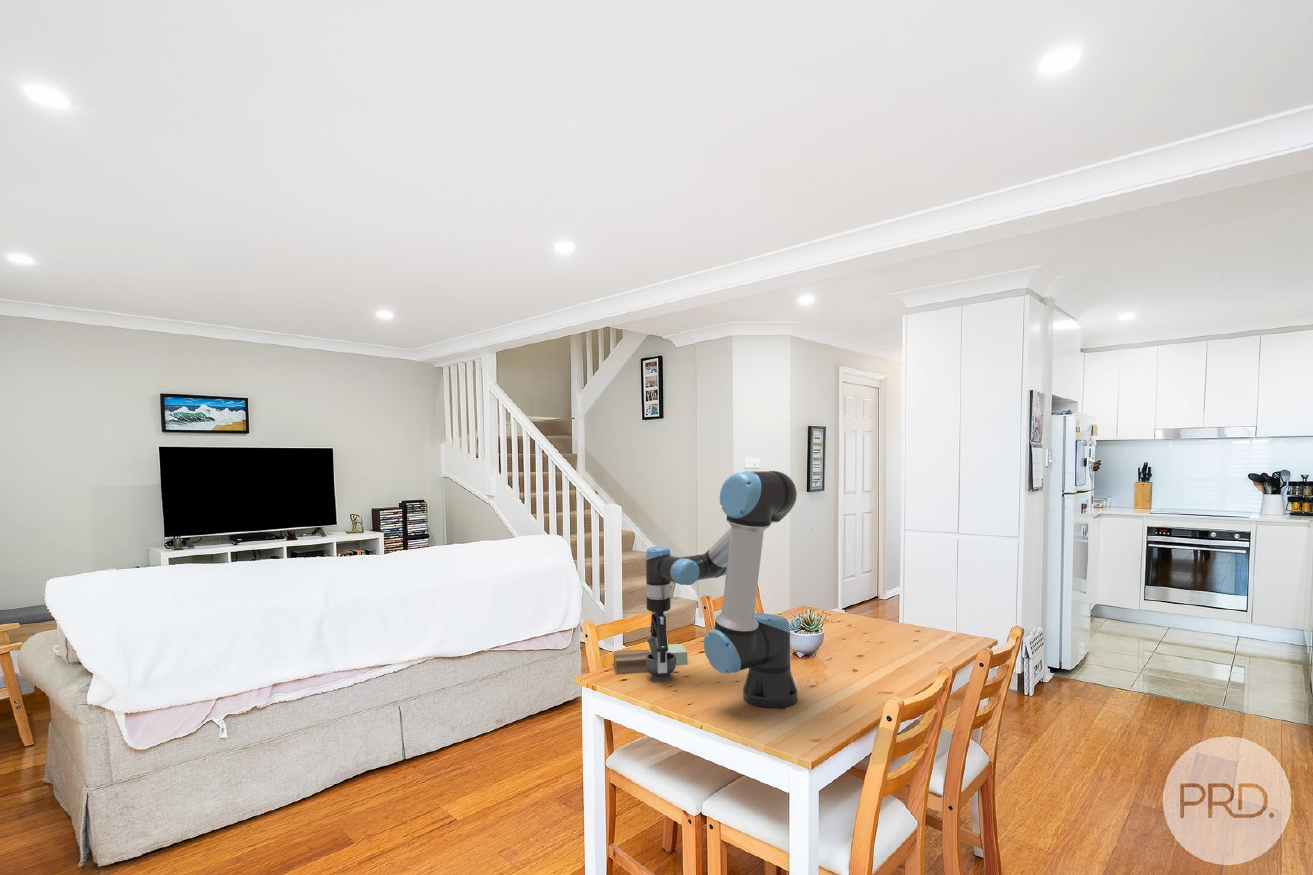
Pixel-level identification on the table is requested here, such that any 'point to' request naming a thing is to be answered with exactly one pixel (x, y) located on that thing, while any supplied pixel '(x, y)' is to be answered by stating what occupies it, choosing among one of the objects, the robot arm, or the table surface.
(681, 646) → the green plinth
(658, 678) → the mortar and pestle
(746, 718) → the table surface
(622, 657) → the walnut plinth
